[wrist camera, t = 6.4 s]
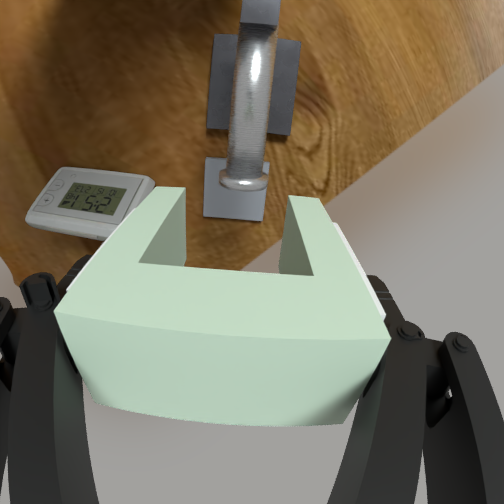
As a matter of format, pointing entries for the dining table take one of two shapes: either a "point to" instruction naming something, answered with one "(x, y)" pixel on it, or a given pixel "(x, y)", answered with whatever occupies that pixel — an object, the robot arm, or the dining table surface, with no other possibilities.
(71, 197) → the digital clock
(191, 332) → the bracket
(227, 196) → the coaster
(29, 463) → the robot arm
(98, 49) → the dining table surface
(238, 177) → the stand
